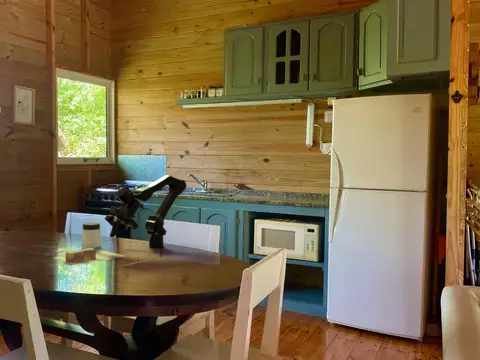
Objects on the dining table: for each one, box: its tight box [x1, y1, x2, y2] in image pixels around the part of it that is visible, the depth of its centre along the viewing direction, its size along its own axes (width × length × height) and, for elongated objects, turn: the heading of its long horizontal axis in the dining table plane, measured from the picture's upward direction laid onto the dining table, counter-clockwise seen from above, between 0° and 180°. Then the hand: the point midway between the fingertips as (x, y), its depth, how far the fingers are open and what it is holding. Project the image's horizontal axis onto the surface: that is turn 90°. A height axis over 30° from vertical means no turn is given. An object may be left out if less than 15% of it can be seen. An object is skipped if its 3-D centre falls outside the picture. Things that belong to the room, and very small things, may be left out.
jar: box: [81, 221, 102, 249], centre depth 221 cm, size 9×8×12 cm
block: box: [65, 248, 97, 264], centre depth 193 cm, size 4×4×12 cm
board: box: [53, 249, 125, 266], centre depth 199 cm, size 24×20×1 cm
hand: (110, 236), depth 205 cm, fingers closed
